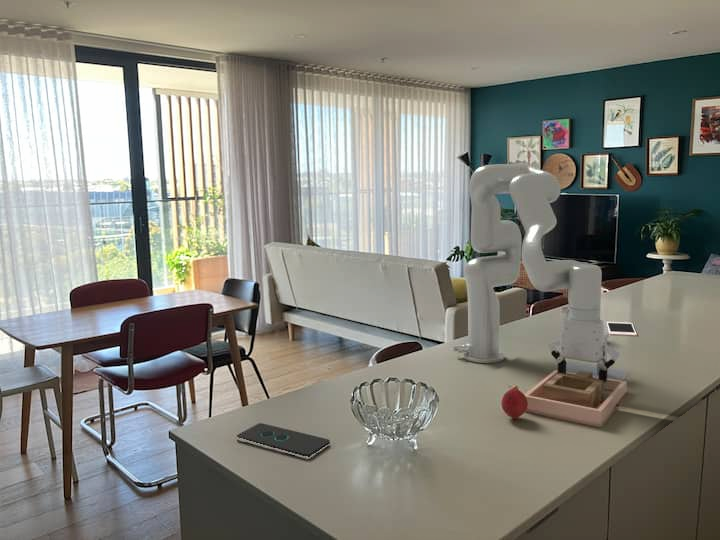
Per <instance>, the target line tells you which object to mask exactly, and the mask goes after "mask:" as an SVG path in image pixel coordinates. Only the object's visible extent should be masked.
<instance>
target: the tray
mask: <svg viewBox="0 0 720 540" xmlns="http://www.w3.org/2000/svg"><path fill="white" fill-rule="evenodd" d="M556 374H558V369H554V370H553V371H552V372H551V373H550V374H547V376H546V377H544V378H543V379H542V380H541V381H539V382H538V383H537V384H535V385H534V386H533V387H532V388H531V389H529V390H528V391H527V392H525V393H523V394H524V395H525V397H526V399H527V402H528V406H527V410H526V412H525V413H530V414H534V415H539V416H544V417H549V418H553V419H558V420H562V421H568V422H571V423H575V424H582V425H586V426H591V427H595V428H599V429H601V428H602V427H603V425H605V423H606V422H607V421H608V419H610V417H611V415H612V414H613V413H614V412H615V411H616V410H617V408H618V407H619V406H620V405H619V404H618V403H619V401H620V400H621V399H622V398H623V396H625V394H626V393H627V390H628V389H627V384H628V381H625V380H623V381H620V380H614V379H608V378H607V381H606V382H605V383H604V384H603V390H606V391H611V393H610V394H609V396H608V397H607V398H606V399H605V400H604V401H600V402H601V403H600V404H599V405H598V406H597V407H596V408H590V407H585V406H580V405H575V404H570V403H564V402H559V401H554V400H549V399H544V398H543V385H544V384H545V383H546V382H548V381H549V380H550V379H551V378H553V377H554V376H555V375H556ZM566 374H569V375H575V374H577V373H571V372H566ZM593 379H599V377H596V376H593Z"/></svg>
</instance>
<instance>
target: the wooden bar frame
mask: <svg viewBox="0 0 720 540" xmlns="http://www.w3.org/2000/svg"><path fill="white" fill-rule="evenodd" d="M603 384H604V380H599V379H593V372H590V371H584V370H580V371H579V372H578V373H577V374H575V375H569V374H563V373H558V374H556V375H555V376H554V377H553V378H551V379H550V380H549V381H548V382H546V383H545V384H544V385H543V398H544V399H549V400H554V401H559V402H564V403H570V404H575V405H580V406H585V407H590V408H596V407H597V406H598V405H599V404H600V403H601V402H602V400H604V389H603Z"/></svg>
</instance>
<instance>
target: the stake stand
mask: <svg viewBox="0 0 720 540" xmlns="http://www.w3.org/2000/svg"><path fill="white" fill-rule="evenodd" d="M604 332H605V344H606V345H608V338H609V336H610V335H609V332H607V331H604ZM604 358H605V359H606V361H607V362H608V353H607V352H605V356H604ZM600 369H601V367H600V366H599V365H598V363H597V362H596V365H590V364H584V363H578V362H572V361H568V362H566V372H571V373H578V372H579V371H580V370H584V371H590V372H593V376H596V377H599V370H600ZM630 373H631V371H629V370H625V369H624V370H623V369H616V368H610V367H609V368H608V370H607V378H608V379H614V380H620V381H625V379H626V378H627V376H628V375H629V374H630Z"/></svg>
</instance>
